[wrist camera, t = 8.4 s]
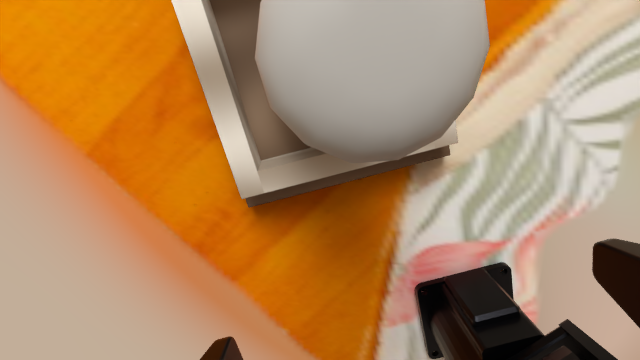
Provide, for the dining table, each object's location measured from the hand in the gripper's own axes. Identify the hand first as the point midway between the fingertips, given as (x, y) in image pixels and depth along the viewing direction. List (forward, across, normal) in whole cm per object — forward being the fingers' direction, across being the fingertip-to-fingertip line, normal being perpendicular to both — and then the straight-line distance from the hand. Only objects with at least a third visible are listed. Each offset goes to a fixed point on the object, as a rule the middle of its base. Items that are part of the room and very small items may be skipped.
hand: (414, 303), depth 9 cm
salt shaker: (+12, 0, -6) cm, 14 cm away
